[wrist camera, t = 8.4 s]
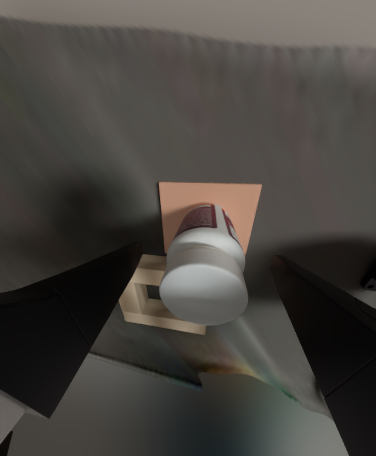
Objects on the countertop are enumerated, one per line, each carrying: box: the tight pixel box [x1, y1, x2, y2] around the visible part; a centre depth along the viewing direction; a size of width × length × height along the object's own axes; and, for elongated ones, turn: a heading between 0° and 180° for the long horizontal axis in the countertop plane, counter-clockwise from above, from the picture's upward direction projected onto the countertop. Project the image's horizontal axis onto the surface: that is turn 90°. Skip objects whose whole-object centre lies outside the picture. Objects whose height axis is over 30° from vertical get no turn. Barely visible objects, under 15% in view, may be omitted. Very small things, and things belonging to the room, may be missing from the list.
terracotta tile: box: [159, 181, 262, 256], centre depth 14 cm, size 9×8×1 cm
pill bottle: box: [159, 202, 248, 326], centre depth 10 cm, size 5×5×8 cm
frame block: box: [119, 254, 206, 335], centre depth 18 cm, size 12×11×2 cm
